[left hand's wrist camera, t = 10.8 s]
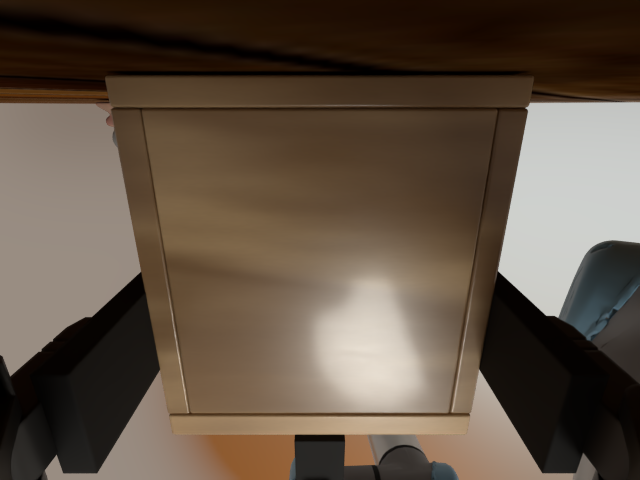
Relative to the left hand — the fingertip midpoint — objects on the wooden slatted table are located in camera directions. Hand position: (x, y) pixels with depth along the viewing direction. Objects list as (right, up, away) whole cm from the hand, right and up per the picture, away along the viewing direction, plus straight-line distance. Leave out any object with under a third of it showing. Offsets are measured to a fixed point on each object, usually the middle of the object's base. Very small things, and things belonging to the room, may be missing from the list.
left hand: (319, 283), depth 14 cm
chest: (0, +8, +2) cm, 8 cm away
